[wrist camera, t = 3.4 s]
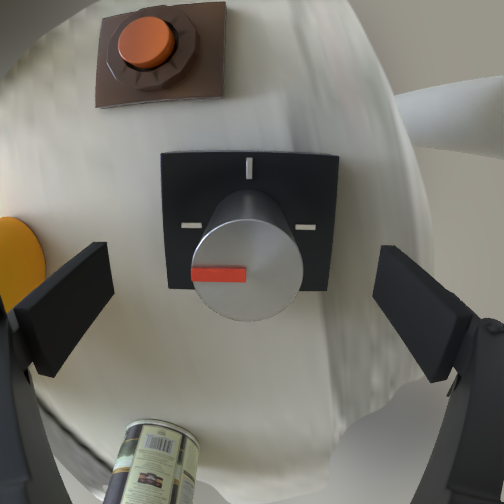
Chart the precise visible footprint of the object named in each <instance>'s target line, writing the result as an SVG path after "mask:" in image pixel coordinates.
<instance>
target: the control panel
mask: <svg viewBox="0 0 504 504" xmlns="http://www.w3.org/2000/svg"><path fill="white" fill-rule="evenodd" d="M160 164H161V194H162V214H163V230H164V244H165V257H166V268H167V279H168V288H169V289H195V287H194V284H193V281H192V280H191V265H192V259H193V256H194V252H195V250H196V248H197V246H198V244H199V242H200V240H201V238H202V236H203V234H204V232H205V230H206V228H207V226H208V223H209V221H210V219H211V217H212V215H213V213H214V211H215V209H216V207H217V206H218V204H219V203H220V202H221V201H222V200H223V199H224V198H225V197H226V196H228V195H230V194H232V193H234V192H236V191H240V190H248V189H250V190H257V191H261V192H263V193H265V194H267V195H269V196H270V197H272V198H273V199H274V200H275V201H276V202H277V203H278V204H279V206H280V208H281V209H282V212H283V214H284V216H285V218H286V221H287V223H288V225H289V228H290V230H291V232H292V235H293V237H294V240H295V242H296V244H297V247H298V249H299V251H300V254H301V257H302V261H303V279H302V283H301V286H300V289H299V291H327V286H328V278H329V270H330V262H331V253H332V243H333V233H334V223H335V211H336V199H337V185H338V169H339V156H336V155H331V154H322V153H306V152H286V151H253V150H207V151H173V152H166V153H161V154H160ZM195 290H196V289H195Z"/></svg>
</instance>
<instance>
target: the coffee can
mask: <svg viewBox="0 0 504 504" xmlns="http://www.w3.org/2000/svg"><path fill="white" fill-rule="evenodd" d="M199 452H200V445H199V443H198V441H197V440H196V439H195V437H194V436H193V435H191V434H190V433H189V432H187V431H186V430H184V429H182V428H180V427H178V426H176V425H173V424H170V423H167V422H163V421H158V420H146V419H145V420H138V421H135V422H132V423H131V424H129V425H128V427H127V428H126V433H125V436H124V439H123V442H122V445H121V448H120V451H119V454H118V457H117V460H116V463H115V467H114V470H113V473H112V476H111V479H110V482H109V485H108V488H107V491H106V495H105V498H104V501H103V504H193V495H194V487H195V479H196V471H197V464H198V456H199Z"/></svg>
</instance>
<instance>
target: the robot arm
mask: <svg viewBox="0 0 504 504" xmlns="http://www.w3.org/2000/svg"><path fill="white" fill-rule="evenodd" d="M114 294H115V292H114V287H113V281H112V275H111V269H110V262H109V255H108V248H107V242H93V243H91V244H90V245H89V246H87V247H86V248H85V249H83V250H82V251H81V252H80V253H78V254H77V255H76V256H74V257H73V258H72V259H71V260H69V261H68V262H67V263H66V264H64V265H63V266H62V267H61V268H59V269H58V270H57V271H56V272H55V273H53V274H52V275H51V276H50V277H49V278H47V279H46V280H45V281H44V282H43V283H41V284H40V285H39V286H38V287H37V288H35V289H34V290H33V291H31V292H30V293H29V294H28V295H27V296H26V297H25V298H23V299H22V301H20V302H19V303H18V304H17V305H16V306H14V307H13V308H12V309H11V310H10V311H9V312H8V313H7V314H6V311H5V308H4V304H3V301H2V298H1V295H0V504H72V502H71V500H70V497H69V495H68V493H67V490H66V488H65V486H64V483H63V481H62V478H61V476H60V473H59V471H58V468H57V466H56V462H55V460H54V457H53V454H52V451H51V448H50V445H49V442H48V439H47V436H46V432H45V429H44V426H43V422H42V418H41V415H40V411H39V407H38V403H37V399H36V395H35V390H34V385H33V381H32V376H31V373H30V371H29V369H28V367H29V365H30V364H31V363H32V362H33V363H34V365H35V368H36V370H37V372H38V374H40V375H44V376H48V377H52V378H54V377H55V376H56V374H57V373H58V371H59V370H60V368H61V367H62V365H63V364H64V362H65V361H66V359H67V358H68V356H69V355H70V354H71V352H72V351H73V349H74V348H75V346H76V345H77V344H78V342H79V341H80V339H81V338H82V337H83V335H84V334H85V332H86V331H87V330H88V328H89V327H90V326H91V324H92V323H93V321H94V320H95V319H96V317H97V316H98V315H99V313H100V312H101V311H102V309H103V308H104V307H105V305H106V304H107V303H108V301H109V300H110V299H111V297H112V296H113V295H114ZM372 297H373V298H374V300H375V301H376V303H377V304H378V305H379V307H380V308H381V310H382V311H383V312H384V314H385V315H386V317H387V318H388V320H389V321H390V322H391V324H392V325H393V327H394V328H395V330H396V331H397V333H398V334H399V336H400V337H401V339H402V340H403V342H404V343H405V345H406V346H407V348H408V349H409V351H410V352H411V354H412V355H413V357H414V358H415V360H416V361H417V363H418V364H419V366H420V368H421V369H422V371H423V372H424V374H425V375H426V377H427V379H428V380H429V382H430V383H434V382H439V381H443V380H446V379H447V378H448V376H449V374H450V372H451V369H452V367H454V368H455V369H456V371H457V372H458V374H457V376H456V378H455V380H454V382H453V384H452V386H451V388H450V390H449V392H448V394H447V397H449V396H450V398H449V402H448V405H447V409H446V412H445V416H444V419H443V422H442V426H441V428H440V432H439V435H438V438H437V440H436V443H435V446H434V449H433V451H432V455H431V457H430V459H429V462H428V464H427V467H426V470H425V472H424V474H423V477H422V479H421V481H420V484H419V486H418V488H417V490H416V493H415V495H414V497H413V499H412V501H411V503H410V504H504V502H501V500H500V497H501V491H502V486H503V481H504V324H503V323H501V322H500V321H498V320H495V319H491V318H483V319H480V318H479V317H478V316H477V315H476V314H475V313H474V312H473V311H472V310H471V309H470V308H469V307H468V306H466V305H465V304H464V303H463V302H462V301H460V299H459V298H458V297H457V296H456V295H455V294H454V293H452V292H450V291H448V290H446V289H445V288H444V287H443V286H442V285H441V284H440V283H438V282H437V281H436V280H435V279H434V278H433V277H432V276H431V275H429V274H428V273H427V272H426V271H425V270H424V269H422V268H421V267H420V266H419V265H418V264H417V263H415V262H414V261H413V260H412V259H411V258H409V257H408V256H407V255H406V254H405V253H403V252H402V251H401V250H400V249H398V248H397V247H396V246H392V245H381V250H380V256H379V262H378V268H377V274H376V279H375V285H374V290H373V295H372Z"/></svg>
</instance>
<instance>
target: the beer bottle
mask: <svg viewBox="0 0 504 504" xmlns="http://www.w3.org/2000/svg"><path fill="white" fill-rule="evenodd" d="M45 275H46V265H45V259H44V254H43V251H42V248H41V246H40V244H39V241H38V240H37V238H36V236H35V235H34V233H33V232H32V231H31V230H30V228H29V227H28V226H27V225H26V224H24V223H23V222H22V221H20V220H18V219H15V218H13V217H2V218H0V295H1V298H2V301H3V304H4V308H5V311H6V314H7V313H8V312H9V311H10V310H11V309H12V308H13V307H14V306H16V305H17V304H18V303H19V302H20V301H22V299H23V298H25V297H26V296H27V295H28V294H29V293H30V292H31V291H33V290H34V289H35V288H37V287H38V286H39V285H40V284H41V283H43V282H44V280H45Z"/></svg>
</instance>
